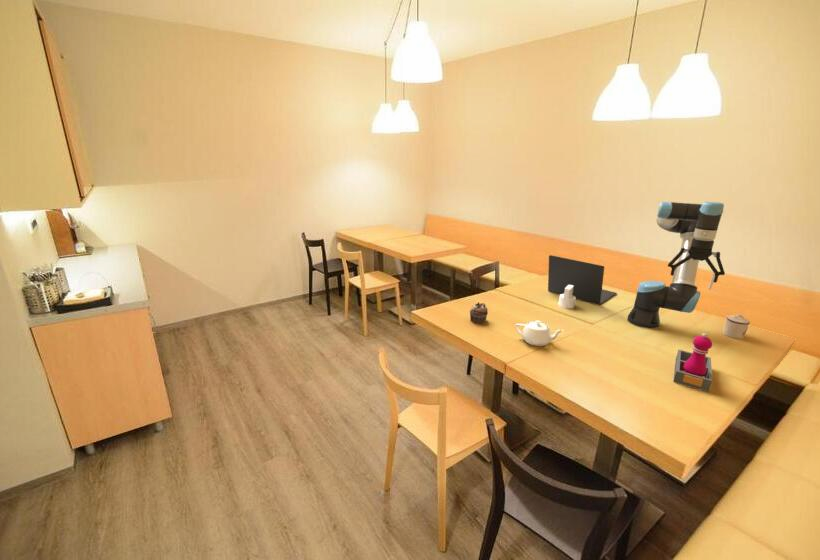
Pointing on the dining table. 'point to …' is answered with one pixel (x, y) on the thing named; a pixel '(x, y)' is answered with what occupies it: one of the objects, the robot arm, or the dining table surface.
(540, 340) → the teapot
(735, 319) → the teacup with lid
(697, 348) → the pepper mill
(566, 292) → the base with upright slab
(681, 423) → the dining table surface
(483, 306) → the cupcake
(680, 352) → the rack
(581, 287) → the laptop
